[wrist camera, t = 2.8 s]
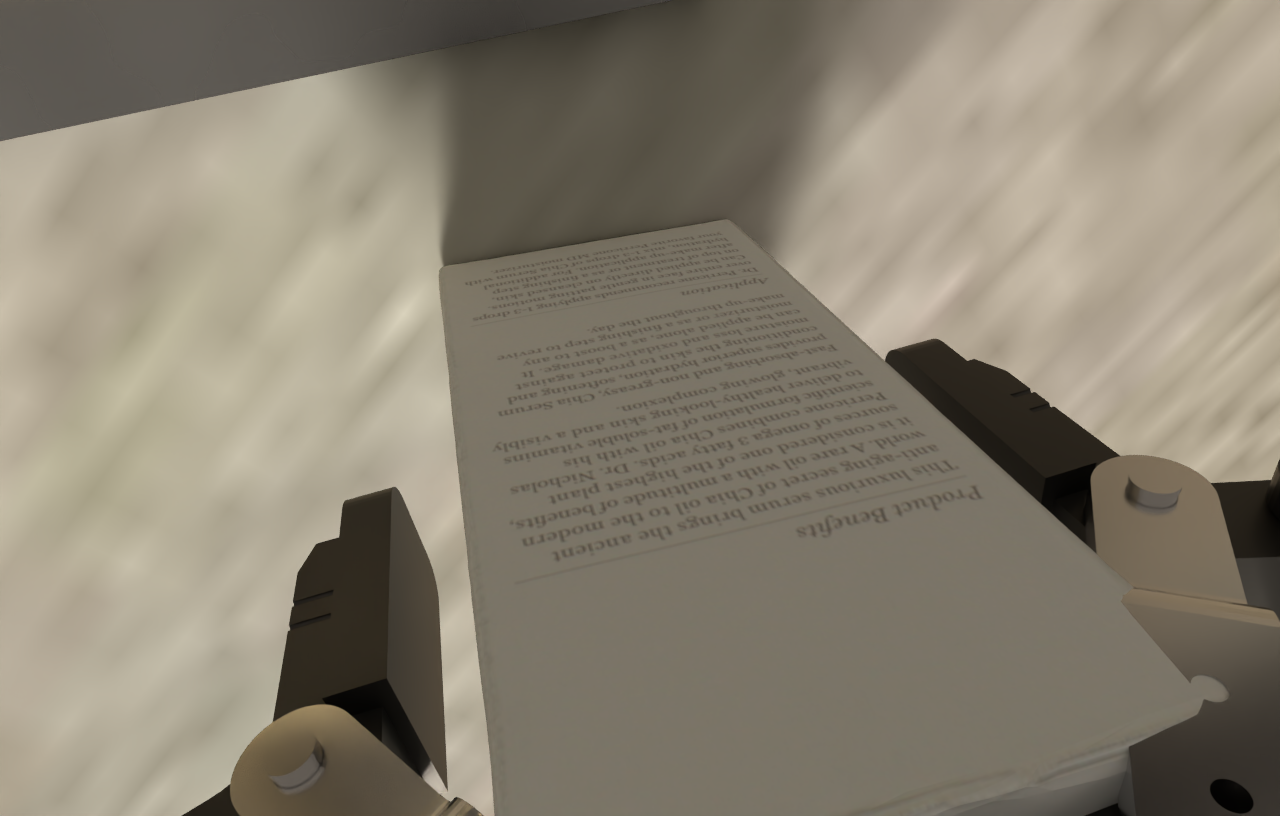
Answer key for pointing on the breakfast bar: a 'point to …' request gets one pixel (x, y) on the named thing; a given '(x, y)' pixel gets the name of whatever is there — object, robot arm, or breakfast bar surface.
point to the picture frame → (224, 47)
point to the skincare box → (763, 560)
